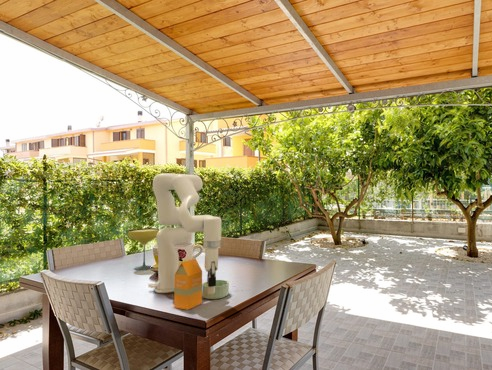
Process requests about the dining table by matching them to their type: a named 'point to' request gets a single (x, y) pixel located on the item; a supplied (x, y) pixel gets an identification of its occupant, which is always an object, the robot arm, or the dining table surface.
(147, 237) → the cocktail glass
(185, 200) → the robot arm
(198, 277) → the orange juice
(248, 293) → the dining table surface
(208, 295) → the bowl
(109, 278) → the dining table surface
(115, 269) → the dining table surface
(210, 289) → the vial
